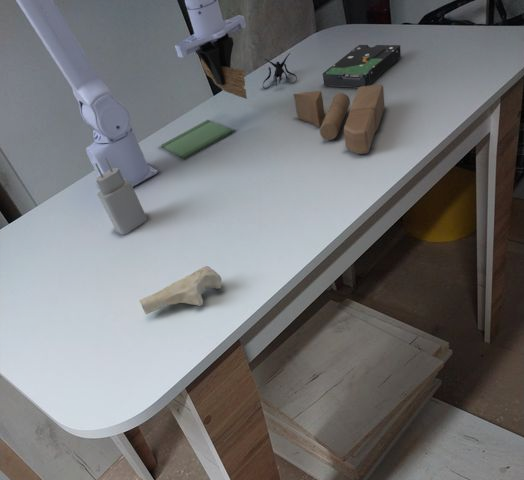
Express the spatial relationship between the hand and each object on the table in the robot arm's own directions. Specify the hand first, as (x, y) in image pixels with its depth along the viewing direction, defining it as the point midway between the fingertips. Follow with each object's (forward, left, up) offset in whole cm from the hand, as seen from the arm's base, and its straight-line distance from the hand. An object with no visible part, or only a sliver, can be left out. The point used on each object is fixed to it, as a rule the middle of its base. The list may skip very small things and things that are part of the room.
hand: (223, 82), depth 103 cm
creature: (+17, +7, -9) cm, 21 cm away
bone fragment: (-37, -41, -9) cm, 55 cm away
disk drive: (+28, -8, -9) cm, 31 cm away
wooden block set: (+6, -23, -9) cm, 25 cm away
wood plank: (0, 0, -2) cm, 2 cm away
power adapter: (-33, -15, -9) cm, 37 cm away
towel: (-9, +2, -8) cm, 12 cm away
